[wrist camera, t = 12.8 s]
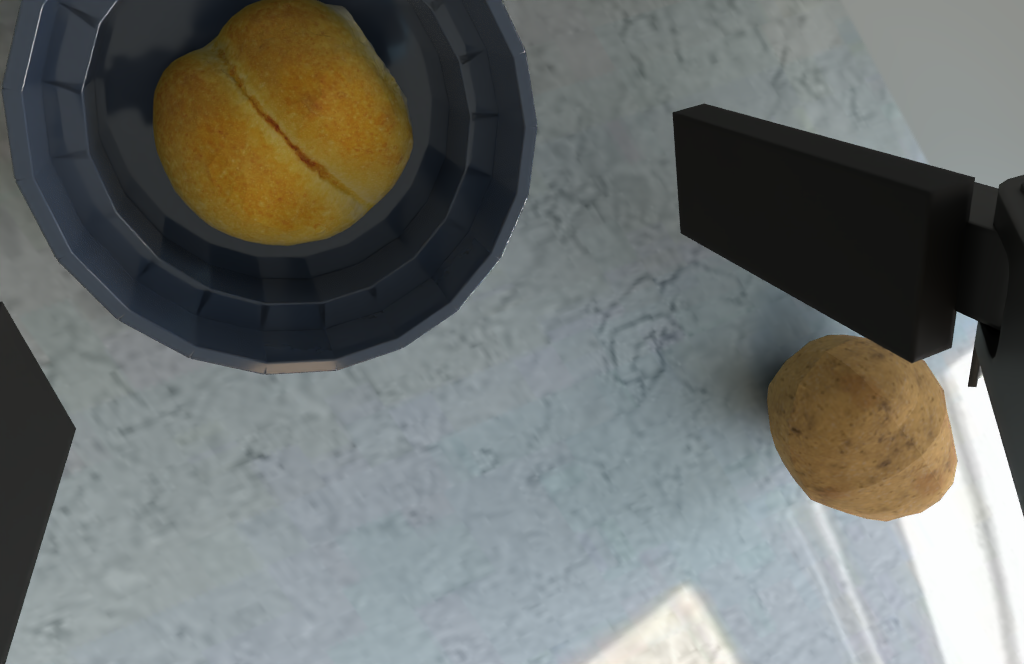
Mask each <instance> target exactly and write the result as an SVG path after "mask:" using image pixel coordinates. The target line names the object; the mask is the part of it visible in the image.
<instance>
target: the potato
mask: <svg viewBox="0 0 1024 664" xmlns="http://www.w3.org/2000/svg"><path fill="white" fill-rule="evenodd" d="M767 405H768V414H769V423H770V431H771V434H772V437H773V441H774V444H775V447H776V449H777V451H778V453H779V455H780V457H781V459H782V461H783V463H784V465H785V466H786V468H787V469H788V471H789V472H790V474H791V475H792V477H793V478H794V480H795V481H796V482H797V483H798V485H799V486H800V487H801V488H802V489H803V491H804V492H805V493H806V494H807V495H808V497H809V498H810V499H811V500H813V501H816V502H818V503H821V504H823V505H826V506H828V507H831V508H834V509H837V510H840V511H843V512H846V513H849V514H852V515H856V516H859V517H863V518H866V519H872V520H880V521H890V520H893V519H897V518H900V517H904V516H907V515H912V514H917V513H921V512H923V511H924V510H926V509H927V508H929V507H930V506H932V505H933V504H935V503H937V502H938V501H940V500H941V498H942V497H943V496H944V494H945V493H946V492H947V490H948V489H949V488H950V487H951V485H952V484H953V481H954V476H955V471H956V466H957V456H956V451H955V446H954V440H953V435H952V430H951V425H950V421H949V417H948V413H947V409H946V402H945V395H944V390H943V389H942V387H941V386H940V384H939V383H938V381H937V379H936V378H935V376H934V375H933V373H932V372H931V370H930V369H929V367H928V366H927V364H926V363H925V361H923V360H919V361H917V362H914V363H910V362H908V361H906V360H905V359H903V358H901V357H899V356H898V355H896V354H894V353H892V352H890V351H889V350H887V349H885V348H883V347H882V346H880V345H878V344H876V343H874V342H873V341H871V340H869V339H867V338H862V337H856V336H849V335H827V336H824V337H821V338H818V339H815V340H812V341H810V342H809V343H807V344H806V345H805V346H804V347H803V348H801V349H800V350H799V351H798V352H797V353H795V354H794V355H793V356H792V357H790V358H789V359H788V360H786V361H785V362H784V364H783V365H782V367H781V368H780V370H779V371H778V372H777V374H776V375H775V377H774V378H773V380H772V381H771V383H770V384H769V386H768V396H767Z"/></svg>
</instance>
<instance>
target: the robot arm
mask: <svg viewBox="0 0 1024 664" xmlns="http://www.w3.org/2000/svg"><path fill="white" fill-rule="evenodd" d="M673 126H674V141H675V156H676V171H677V186H678V200H679V215H680V230H681V234H683V235H685V236H687V237H688V238H690V239H692V240H694V241H696V242H697V243H699V244H701V245H703V246H704V247H706V248H708V249H710V250H711V251H713V252H715V253H717V254H719V255H720V256H722V257H724V258H726V259H727V260H729V261H731V262H733V263H735V264H736V265H738V266H740V267H742V268H743V269H745V270H747V271H749V272H750V273H752V274H754V275H756V276H758V277H759V278H761V279H763V280H765V281H766V282H768V283H770V284H772V285H773V286H775V287H777V288H779V289H781V290H782V291H784V292H786V293H788V294H789V295H791V296H793V297H795V298H797V299H798V300H800V301H802V302H804V303H805V304H807V305H809V306H811V307H812V308H814V309H816V310H818V311H820V312H821V313H823V314H825V315H827V316H828V317H830V318H832V319H834V320H836V321H837V322H839V323H841V324H843V325H844V326H846V327H848V328H850V329H851V330H853V331H855V332H857V333H859V334H860V335H862V336H864V337H866V338H867V339H869V340H871V341H873V342H874V343H876V344H878V345H880V346H882V347H883V348H885V349H887V350H889V351H890V352H892V353H894V354H896V355H898V356H899V357H901V358H903V359H905V360H906V361H908V362H910V363H914V362H917V361H919V360H922V359H924V358H927V357H929V356H932V355H934V354H937V353H939V352H942V351H944V350H947V349H949V348H952V341H953V333H954V326H955V319H956V312H960V313H962V314H964V315H966V316H968V317H970V318H973V319H975V320H977V321H978V324H977V331H976V337H975V344H974V350H973V356H972V363H971V369H970V376H969V382H968V387H976V386H977V381H978V379H979V378H980V377H982V376H983V377H984V380H985V384H986V387H987V391H988V394H989V398H990V401H991V405H992V408H993V412H994V415H995V419H996V422H997V426H998V429H999V432H1000V436H1001V439H1002V443H1003V446H1004V450H1005V453H1006V457H1007V460H1008V464H1009V467H1010V471H1011V474H1012V478H1013V481H1014V485H1015V488H1016V492H1017V495H1018V498H1019V502H1020V505H1021V509H1022V512H1023V516H1024V175H1022V176H1018V177H1015V178H1010V179H1008V180H1006V181H1005V182H1003V183H1001V184H1000V185H999V189H997V188H994V187H991V186H987V185H983V184H980V183H976V182H974V181H975V177H971V176H967V175H964V174H959V173H956V172H952V171H949V170H945V169H942V168H938V167H934V166H931V165H927V164H923V163H920V162H916V161H912V160H909V159H905V158H901V157H898V156H894V155H890V154H887V153H883V152H879V151H876V150H872V149H868V148H865V147H861V146H857V145H854V144H850V143H846V142H843V141H839V140H836V139H832V138H828V137H825V136H821V135H817V134H814V133H810V132H806V131H803V130H799V129H795V128H792V127H788V126H784V125H781V124H777V123H773V122H770V121H766V120H762V119H759V118H755V117H751V116H748V115H744V114H740V113H737V112H733V111H729V110H726V109H722V108H718V107H715V106H711V105H707V104H701V105H698V106H694V107H690V108H687V109H683V110H680V111H676V112H673ZM75 430H76V428H75V426H74V424H73V423H72V421H71V419H70V417H69V416H68V414H67V412H66V411H65V409H64V407H63V405H62V404H61V402H60V400H59V399H58V397H57V395H56V393H55V392H54V390H53V388H52V387H51V385H50V383H49V381H48V380H47V378H46V376H45V374H44V373H43V371H42V369H41V368H40V366H39V364H38V362H37V361H36V359H35V357H34V356H33V354H32V352H31V350H30V349H29V347H28V345H27V344H26V342H25V340H24V338H23V337H22V335H21V333H20V331H19V330H18V328H17V326H16V325H15V323H14V321H13V319H12V318H11V316H10V314H9V313H8V311H7V309H6V307H5V306H4V304H3V302H0V664H5V662H6V659H7V656H8V652H9V649H10V646H11V642H12V639H13V636H14V632H15V629H16V626H17V623H18V619H19V616H20V613H21V609H22V606H23V603H24V599H25V596H26V593H27V589H28V586H29V583H30V579H31V576H32V573H33V569H34V566H35V563H36V560H37V556H38V553H39V550H40V546H41V543H42V540H43V536H44V533H45V530H46V526H47V523H48V520H49V516H50V513H51V510H52V506H53V503H54V500H55V496H56V493H57V490H58V487H59V483H60V480H61V477H62V473H63V470H64V467H65V463H66V460H67V457H68V453H69V450H70V447H71V443H72V440H73V437H74V433H75Z"/></svg>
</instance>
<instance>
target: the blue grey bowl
mask: <svg viewBox="0 0 1024 664" xmlns="http://www.w3.org/2000/svg"><path fill="white" fill-rule="evenodd" d="M257 1H261V0H21V4H20V8H19V12H18V17H17V21H16V25H15V30H14V34H13V38H12V43H11V47H10V52H9V56H8V60H7V65H6V69H5V73H4V78H3V82H2V97H3V103H4V110H5V117H6V124H7V131H8V138H9V145H10V152H11V158H12V165H13V172H14V178H15V179H16V183H17V185H18V187H19V189H20V191H21V193H22V195H23V197H24V199H25V200H26V202H27V204H28V206H29V208H30V210H31V212H32V214H33V216H34V218H35V220H36V221H37V223H38V225H39V227H40V229H41V231H42V233H43V235H44V237H45V239H46V240H47V242H48V244H49V246H50V248H51V250H52V252H53V254H54V256H55V258H56V259H57V260H58V262H59V263H60V264H61V265H62V266H63V267H64V268H65V269H66V270H67V271H68V272H70V273H71V274H72V275H73V276H74V277H75V278H76V279H77V280H78V281H79V282H80V283H81V284H82V285H83V286H84V287H85V288H86V289H87V290H88V291H89V292H90V293H91V294H92V295H93V296H94V297H95V298H96V299H97V300H98V301H99V302H100V303H101V304H102V305H103V306H104V307H105V308H106V309H107V310H108V311H109V312H110V313H111V314H112V315H113V316H114V317H115V318H116V319H119V321H121V322H123V323H124V324H126V325H128V326H130V327H132V328H134V329H136V330H138V331H139V332H141V333H143V334H145V335H147V336H149V337H151V338H153V339H154V340H156V341H158V342H160V343H162V344H164V345H166V346H168V347H169V348H171V349H173V350H175V351H177V352H179V353H181V354H183V355H184V356H186V357H188V358H191V359H195V360H200V361H204V362H209V363H213V364H218V365H223V366H227V367H232V368H236V369H241V370H246V371H250V372H255V373H259V374H266V375H267V374H285V373H303V372H320V371H336V370H340V369H343V368H346V367H349V366H352V365H355V364H358V363H361V362H364V361H367V360H370V359H373V358H376V357H378V356H381V355H384V354H387V353H390V352H393V351H396V350H399V349H401V348H404V347H405V346H407V345H408V344H410V343H411V342H413V341H414V340H416V339H417V338H419V337H420V336H422V335H423V334H424V333H426V332H427V331H429V330H430V329H432V328H433V327H435V326H436V325H438V324H439V323H441V322H442V321H443V320H445V319H446V318H448V317H449V316H451V315H452V314H454V313H455V312H457V310H459V309H460V307H461V306H462V305H463V304H464V303H465V301H466V300H467V299H468V298H469V297H470V295H471V294H472V293H473V292H474V291H475V289H476V288H477V287H478V286H479V285H480V283H481V282H482V281H483V280H484V279H485V277H486V276H487V275H488V274H489V273H490V271H491V270H492V269H493V268H494V267H495V265H496V264H497V263H498V262H499V261H500V258H501V257H502V255H503V253H504V251H505V248H506V246H507V244H508V242H509V239H510V237H511V235H512V232H513V230H514V228H515V226H516V223H517V221H518V219H519V217H520V214H521V212H522V210H523V207H524V205H525V203H526V201H527V198H528V197H527V196H528V195H529V187H530V180H531V172H532V164H533V157H534V149H535V141H536V134H537V119H536V113H535V107H534V100H533V94H532V88H531V81H530V75H529V68H528V62H527V56H526V52H525V48H524V46H523V44H522V42H521V40H520V38H519V36H518V34H517V32H516V29H515V27H514V25H513V23H512V21H511V19H510V17H509V15H508V13H507V11H506V8H505V6H504V4H503V2H502V0H317V1H320V2H322V3H325V4H330V5H337V6H343V7H344V8H346V10H347V11H348V12H349V13H350V14H351V15H352V17H353V20H354V21H355V22H356V23H357V25H358V26H359V27H360V29H361V30H362V32H363V34H364V35H365V37H366V38H367V39H368V41H369V42H370V43H371V44H372V46H373V47H374V49H375V52H376V54H377V55H378V56H379V57H380V58H381V60H382V61H383V62H384V63H385V66H386V68H388V69H389V71H390V74H391V75H392V76H393V77H394V79H395V81H396V83H397V84H398V86H399V87H400V89H401V91H402V92H403V94H404V95H405V97H406V98H407V106H408V110H409V117H410V120H411V123H412V134H413V148H412V151H411V154H410V157H409V160H408V162H407V164H406V166H405V168H404V170H403V172H402V173H401V175H400V177H399V179H398V180H397V182H396V183H395V185H394V186H393V188H392V189H391V190H390V191H389V192H388V193H387V194H386V195H385V196H384V197H383V198H382V199H381V200H380V201H379V202H378V203H376V204H375V205H374V206H373V207H372V208H371V209H370V210H369V211H368V212H367V213H366V214H365V215H364V216H363V217H362V218H361V219H359V220H358V221H357V222H356V223H354V224H353V225H352V226H351V227H349V228H348V229H346V230H344V231H343V232H341V233H338V234H336V235H334V236H332V237H330V238H328V239H323V240H318V241H313V242H307V243H301V244H296V245H291V246H281V245H266V244H260V243H255V242H249V241H245V240H242V239H239V238H235V237H233V236H230V235H227V234H225V233H223V232H221V231H219V230H217V229H215V228H213V227H211V226H210V225H208V224H207V223H206V222H204V221H203V220H202V219H201V218H200V217H199V216H198V215H197V214H196V213H194V212H193V211H192V210H191V209H190V208H189V207H188V206H187V205H186V204H185V202H184V201H183V200H182V199H181V198H180V197H179V195H178V194H177V193H176V192H175V190H174V188H173V186H172V184H171V182H170V180H169V178H168V176H167V174H166V172H165V170H164V168H163V165H162V163H161V160H160V158H159V155H158V153H157V149H156V145H155V139H154V131H153V99H154V93H155V89H156V86H157V84H158V82H159V80H160V78H161V76H162V74H163V72H164V70H165V69H166V68H167V67H168V66H169V65H170V64H171V63H172V62H173V61H174V60H176V59H178V58H180V57H182V56H184V55H186V54H188V53H190V52H192V51H195V50H198V49H201V48H203V47H205V46H206V45H207V44H209V43H210V42H211V41H212V40H213V39H215V38H216V37H217V36H218V34H219V33H220V31H221V29H222V28H223V26H224V25H225V24H226V23H227V22H228V21H229V20H230V18H231V17H232V16H234V15H235V14H236V13H238V12H239V11H240V10H242V9H243V8H244V7H246V6H247V5H250V4H252V3H255V2H257Z"/></svg>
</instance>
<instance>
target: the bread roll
mask: <svg viewBox="0 0 1024 664" xmlns="http://www.w3.org/2000/svg"><path fill="white" fill-rule="evenodd" d="M153 131H154V139H155V145H156V149H157V153H158V155H159V158H160V160H161V163H162V165H163V168H164V170H165V172H166V174H167V176H168V178H169V180H170V182H171V184H172V186H173V188H174V190H175V192H176V193H177V194H178V195H179V197H180V198H181V199H182V200H183V201H184V202H185V204H186V205H187V206H188V207H189V208H190V209H191V210H192V211H193V212H194V213H196V214H197V215H198V216H199V217H200V218H201V219H202V220H203V221H204V222H206V223H207V224H208V225H210V226H211V227H213V228H215V229H217V230H219V231H221V232H223V233H225V234H227V235H230V236H233V237H235V238H239V239H242V240H245V241H249V242H255V243H260V244H266V245H281V246H291V245H296V244H301V243H307V242H313V241H318V240H323V239H328V238H330V237H332V236H334V235H336V234H338V233H341V232H343V231H344V230H346V229H348V228H349V227H351V226H352V225H353V224H354V223H356V222H357V221H358V220H359V219H361V218H362V217H363V216H364V215H365V214H366V213H367V212H368V211H369V210H370V209H371V208H372V207H373V206H374V205H375V204H376V203H378V202H379V201H380V200H381V199H382V198H383V197H384V196H385V195H386V194H387V193H388V192H389V191H390V190H391V189H392V188H393V186H394V185H395V183H396V182H397V180H398V179H399V177H400V175H401V173H402V172H403V170H404V168H405V166H406V164H407V162H408V160H409V157H410V154H411V151H412V148H413V134H412V123H411V120H410V117H409V110H408V106H407V98H406V97H405V95H404V94H403V92H402V91H401V89H400V87H399V86H398V84H397V83H396V81H395V79H394V77H393V76H392V75H391V74H390V71H389V69H388V68H386V66H385V63H384V62H383V61H382V60H381V58H380V57H379V56H378V55H377V54H376V52H375V49H374V47H373V46H372V44H371V43H370V42H369V41H368V39H367V38H366V37H365V35H364V34H363V32H362V30H361V29H360V27H359V26H358V25H357V23H356V22H355V21H354V20H353V17H352V15H351V14H350V13H349V12H348V11H347V10H346V8H344V7H343V6H337V5H330V4H325V3H322V2H320V1H317V0H261V1H257V2H255V3H252V4H250V5H247V6H246V7H244V8H243V9H242V10H240V11H239V12H238V13H236V14H235V15H234V16H232V17H231V18H230V20H229V21H228V22H227V23H226V24H225V25H224V26H223V28H222V29H221V31H220V33H219V34H218V36H217V37H216V38H215V39H213V40H212V41H211V42H210V43H209V44H207V45H206V46H205V47H203V48H201V49H198V50H195V51H192V52H190V53H188V54H186V55H184V56H182V57H180V58H178V59H176V60H174V61H173V62H172V63H171V64H170V65H169V66H168V67H167V68H166V69H165V70H164V72H163V74H162V76H161V78H160V80H159V82H158V84H157V86H156V89H155V93H154V99H153Z"/></svg>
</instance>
